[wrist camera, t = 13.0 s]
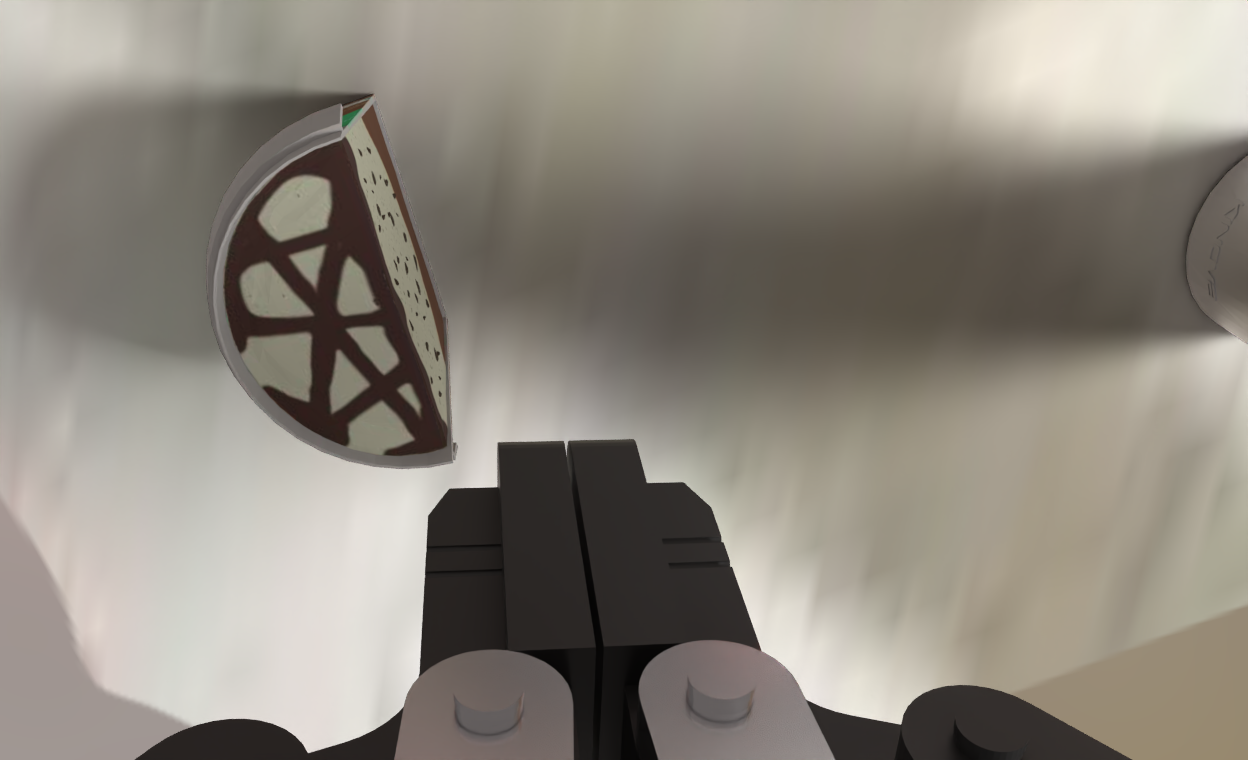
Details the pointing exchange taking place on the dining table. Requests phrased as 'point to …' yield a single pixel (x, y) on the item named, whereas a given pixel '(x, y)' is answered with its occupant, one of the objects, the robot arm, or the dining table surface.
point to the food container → (333, 294)
